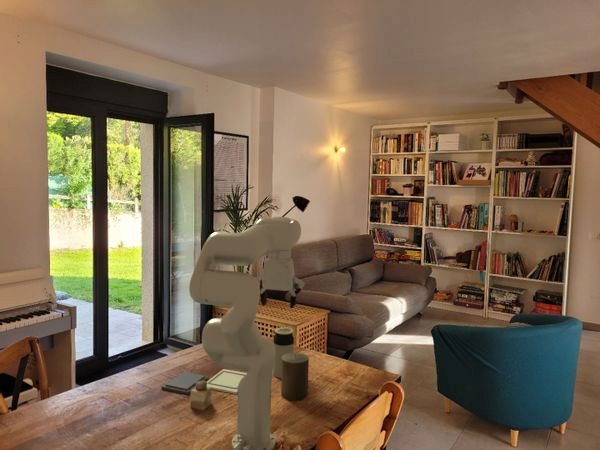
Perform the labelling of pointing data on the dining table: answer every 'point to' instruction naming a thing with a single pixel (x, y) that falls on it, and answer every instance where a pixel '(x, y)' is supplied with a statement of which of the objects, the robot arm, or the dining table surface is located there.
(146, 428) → the dining table surface
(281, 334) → the travel mug
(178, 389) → the grey flat block
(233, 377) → the board
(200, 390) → the stamp
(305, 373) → the pillar candle
